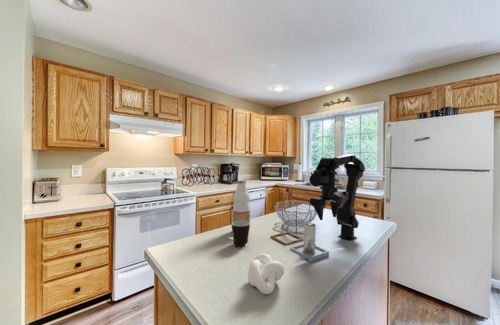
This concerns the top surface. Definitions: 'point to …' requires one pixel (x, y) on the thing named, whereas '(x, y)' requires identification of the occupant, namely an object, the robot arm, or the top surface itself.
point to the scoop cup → (309, 238)
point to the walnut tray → (286, 238)
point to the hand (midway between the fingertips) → (327, 218)
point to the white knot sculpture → (264, 273)
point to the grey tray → (312, 258)
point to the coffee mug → (240, 233)
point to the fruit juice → (241, 203)
